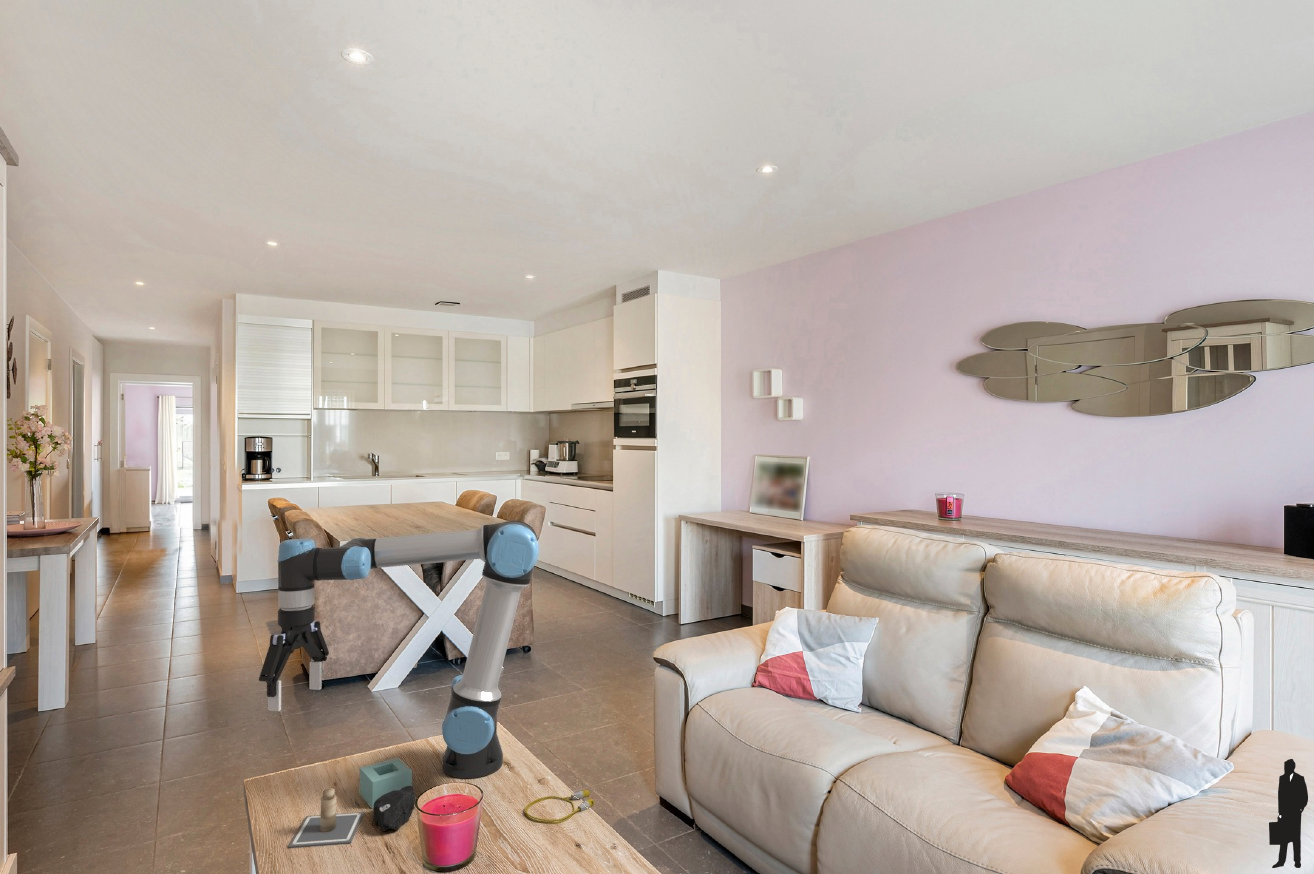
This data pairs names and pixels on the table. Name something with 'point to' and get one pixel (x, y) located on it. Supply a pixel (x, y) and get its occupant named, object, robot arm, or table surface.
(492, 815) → the table surface
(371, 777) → the block with square hole
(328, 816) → the post
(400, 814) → the rock
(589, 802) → the extension cord
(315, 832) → the mat
